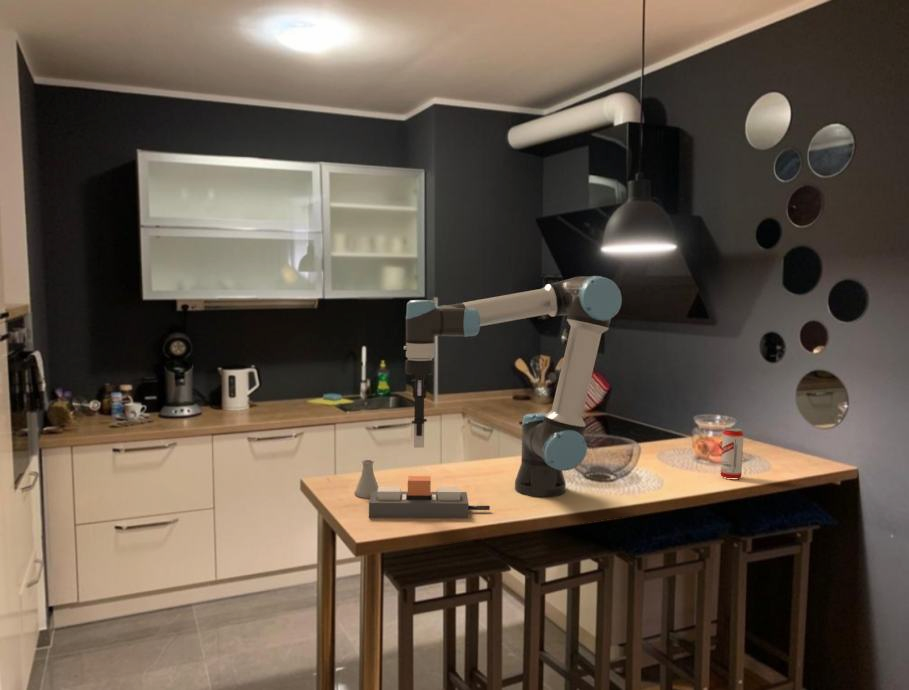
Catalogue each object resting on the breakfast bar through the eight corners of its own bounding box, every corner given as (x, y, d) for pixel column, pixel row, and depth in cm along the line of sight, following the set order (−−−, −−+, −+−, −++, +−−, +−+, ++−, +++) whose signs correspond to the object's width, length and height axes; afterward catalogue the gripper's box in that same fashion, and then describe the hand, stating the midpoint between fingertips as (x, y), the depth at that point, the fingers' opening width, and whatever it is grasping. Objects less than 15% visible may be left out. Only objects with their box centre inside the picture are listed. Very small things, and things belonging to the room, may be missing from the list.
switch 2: (430, 490, 194) (430, 476, 193) (430, 495, 189) (430, 480, 189) (408, 490, 194) (408, 475, 193) (407, 495, 189) (407, 480, 189)
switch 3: (459, 501, 194) (459, 487, 194) (460, 506, 190) (460, 492, 190) (437, 501, 194) (437, 487, 194) (437, 506, 190) (437, 491, 189)
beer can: (732, 474, 234) (734, 426, 233) (745, 479, 228) (748, 430, 227) (716, 476, 232) (718, 427, 231) (729, 481, 227) (731, 431, 225)
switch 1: (400, 501, 194) (400, 486, 193) (400, 506, 189) (400, 491, 189) (378, 501, 194) (378, 486, 193) (377, 506, 189) (377, 491, 189)
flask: (367, 489, 211) (368, 456, 210) (385, 494, 207) (385, 460, 206) (349, 495, 206) (349, 461, 205) (367, 500, 201) (367, 465, 200)
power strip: (487, 506, 198) (488, 491, 197) (491, 518, 188) (491, 503, 187) (371, 505, 196) (371, 491, 196) (368, 517, 186) (368, 502, 186)
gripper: (406, 355, 194) (405, 441, 197) (404, 361, 181) (403, 452, 184) (434, 356, 195) (432, 441, 197) (434, 361, 182) (433, 453, 184)
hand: (418, 446), depth 190 cm, fingers closed
